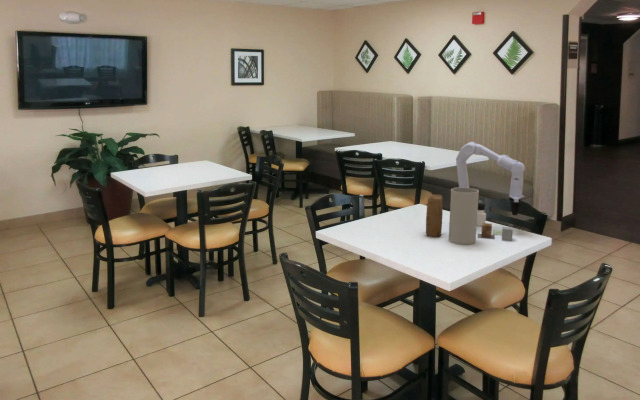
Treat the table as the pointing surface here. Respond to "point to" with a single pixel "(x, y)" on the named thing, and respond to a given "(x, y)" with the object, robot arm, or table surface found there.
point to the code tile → (486, 238)
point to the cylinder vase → (463, 215)
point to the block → (434, 215)
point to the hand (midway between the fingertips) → (514, 213)
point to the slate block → (507, 233)
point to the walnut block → (486, 230)
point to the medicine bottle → (481, 214)
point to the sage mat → (497, 232)
